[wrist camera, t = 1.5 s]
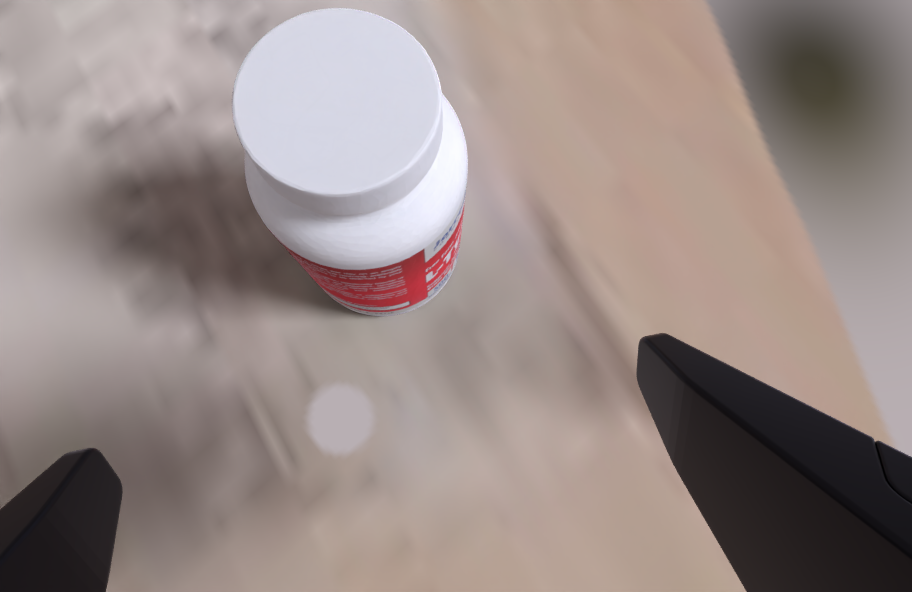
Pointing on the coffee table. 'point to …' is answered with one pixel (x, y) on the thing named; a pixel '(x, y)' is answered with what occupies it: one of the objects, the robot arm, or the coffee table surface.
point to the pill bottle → (354, 157)
